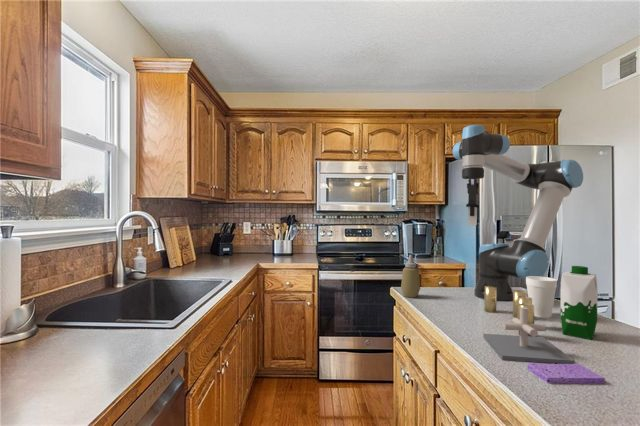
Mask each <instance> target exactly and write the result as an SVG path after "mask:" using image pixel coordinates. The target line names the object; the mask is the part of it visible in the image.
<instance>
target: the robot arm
mask: <svg viewBox="0 0 640 426" xmlns="http://www.w3.org/2000/svg"><path fill="white" fill-rule="evenodd" d="M510 140H511V139H509V137H508V136H507V135H503V134H500V133H498V134H497V133H490V132H489V133H488V132H486V130H485V126H483V125H482V124H471V125H467V126H465V127H463V129H462V134H461V141H459V142H456V143H455V144H454V146H453V147H452V155H453V157H454V159H455V160H458V161H460V162H461V163H462V164H461V165H462V166H461V167H462V170H461V178H462V179H464V180H468V183H466V189H467V194H468V202H467V203H466V205H465V206H466V208H467V226H471V227H472V226H475V227H476V226H477V223H478V222H477V219H478V215H477V214H478V208H479V204H477V195H478V194H479V184H480V183H479V182H477V181H478V180H479V179H483V178H485V169H484V168H486V169H489V170H490V171H493V172H496V173H498V174H500V175H503V176H505V177H508V178H510V181H511V182H513V183H515V184H518V185H520V186H523V187H526V188H529V189H534V190H539V191H540V192H539V193H538V196H537V198H536V200H535V203H534V206H533V207H532V210H531V212H530V215H529V217H528V219H527V221H526V223H525V226H524V229H523V231H522V233H521V235H520V237H519V238H517V239H515V240H514V241H513V243H512V245H511V246H510V243H506V242H505V243H485V244H484V243H483V244H481V245H480V246H479V249H478V279H477V282H476V286H475V288H474V296H475V297H478V298H481V299H484V300H485V286H495V287H497V301H500V302H501V301H502V302H503V301H505V302H506V301H513V291H514V290H513V289H512V285H511V283H510V276H511V277H514V278H520V279H523V280H526V277H528V276H540V277H544V275H545V274H546V272H547V271H548V267H549V255H548V254H547V253H546V252H547V249H546V248H545V247H544V246H545V245H546V241H547V239H548V237H549V234H550V232H551V230H552V226H553V224H554V222H555V219H556V217H557V214H558V212H559V211H560V207H561V205H562V202H563V201H564V198H566V197H568V196H569V195H571V192H572V190H573V189H576V188H579V187H581V186H582V184H583V182H584V171H583V169H582V167H581V165H580V163H578V162H577V160H575V159H561V160H558V161H557V160H556V161H549V162H541V163H528V162H525V161H521V162H519V161H517V160H515V159H513V158H510V157H508V156H506V155H504V154H506V153H507V152H508V151H509V149H510V146H511V141H510Z"/></svg>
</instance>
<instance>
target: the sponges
mask: <svg viewBox="0 0 640 426" xmlns="http://www.w3.org/2000/svg"><path fill="white" fill-rule="evenodd" d="M527 370H529V371H530V372H531V373H533V374H534V375H535V376H536V377H538V378H539V377H540V379H541V380H542V379H543V380H544V381H543V380H542V381H543V382H545V381H546V382H548V383H547V384H599V385H600V384H603V383H606V379H605V377H604V376H603V375H600V374H598V373H597V372H594V371H592V370H591V369H589V368H587V367H586V366H584V365H582V364H580V363H574V364H555V363H541V362H527ZM546 382H545V383H546Z"/></svg>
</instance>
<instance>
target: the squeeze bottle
mask: <svg viewBox="0 0 640 426" xmlns="http://www.w3.org/2000/svg"><path fill="white" fill-rule="evenodd" d="M404 266H405V267H404V268H403V269H402V276H401V282H400V283H401V284H400V289H401V291H402V292H401V293H402V295H403V297H405V298H418V297H419V296H418V295H419V293H420V290H421V283H420V272H419V269H418V268H417V262H414V257H413V254H409V256H408V260H407V262H405V264H404Z"/></svg>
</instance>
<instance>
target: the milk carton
mask: <svg viewBox="0 0 640 426" xmlns="http://www.w3.org/2000/svg"><path fill="white" fill-rule="evenodd" d="M560 278H561V279H560V322H561V330H562V331H561V332H562V335H565V336H570V337H576V338H579V339H585V340H590V341H592V340H593V338H594V335H595V333H596V327H597V323H598V294H599V293H598V279H597V274H593V273H589V267H587V266H583V265H572V266H571V271H565V272H563V273H562V274H561V277H560Z"/></svg>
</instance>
